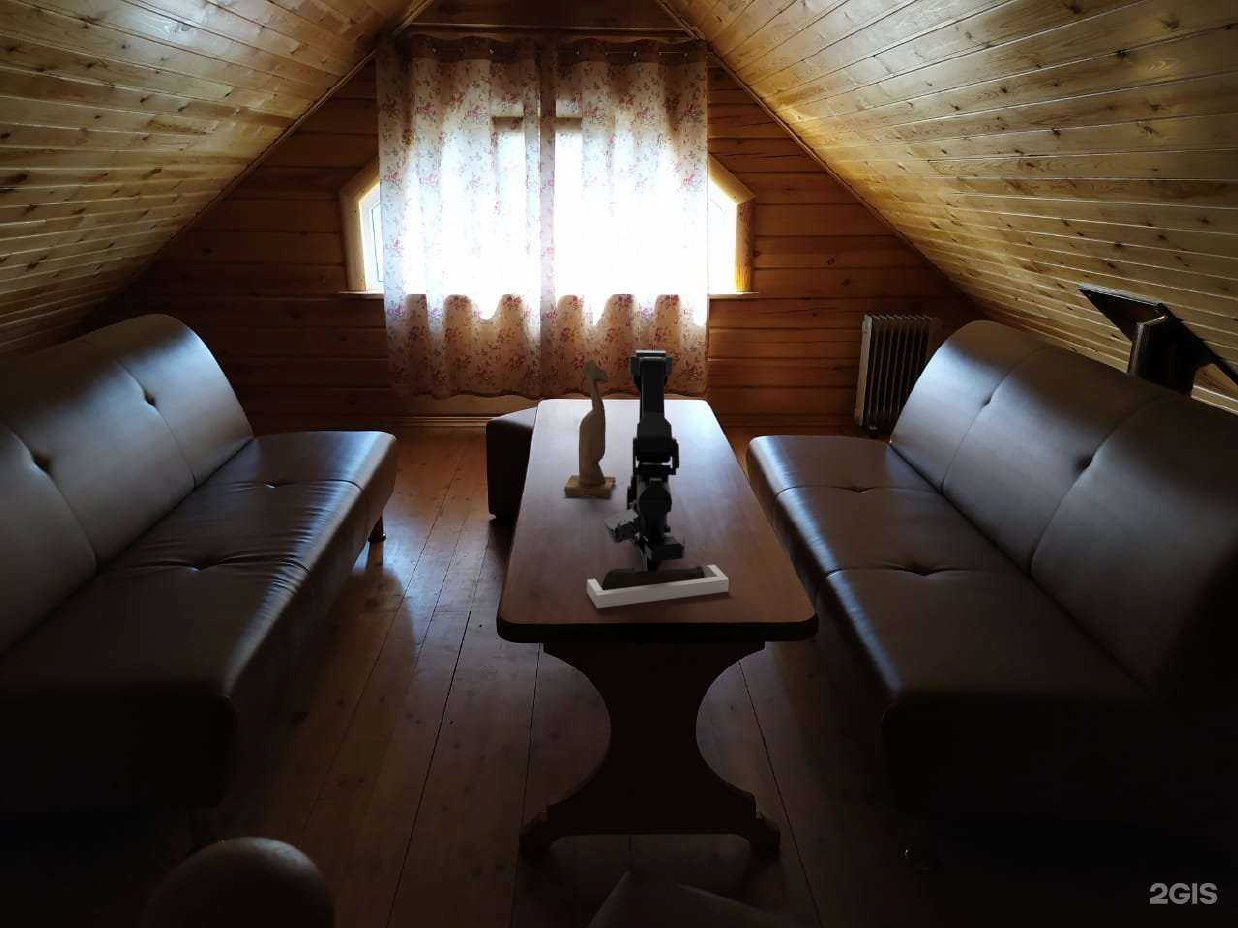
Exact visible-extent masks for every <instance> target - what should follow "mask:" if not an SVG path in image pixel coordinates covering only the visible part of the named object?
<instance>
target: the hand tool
mask: <svg viewBox="0 0 1238 928" xmlns="http://www.w3.org/2000/svg"><path fill="white" fill-rule="evenodd" d="M705 574H706V573H705V570H704V568H703V566H702V565H701V566H699V565H698V566H695V567H690V568H683V567H681V568H669V569H662V570H661V569H660V570H658V569H657V571H645V570H641V571H640V570H636V568H634V567H629V568H615V569H610V570H609V571H608V572H607V573H606V575H605V577H604V579H603V580H602V583H601V588H602V590H603V591H604V590H612V589H621V588H629V587H637V586H645V585H653V584H661V583H669V582H677V581H686V580H694V579H702V578H706V576H705Z"/></svg>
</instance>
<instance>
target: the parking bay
mask: <svg viewBox="0 0 1238 928" xmlns="http://www.w3.org/2000/svg"><path fill="white" fill-rule="evenodd" d="M706 567H707V568H706V577H705V578H702V579H694V580H686V581H677V582H669V583H661V584H653V585H645V586H637V587H629V588H621V589H612V590H604V591H603V590H602V586H601V585H600V584H599V582H598V581H597V580H596V579H597V578H591V579H589V578H588V579H587V580H586V593H587V594H588V596H589V597H590V600H591V601H592V603H593V604H594V606H595V607H596V609H602V608H603V609H604V608H609V607H618V606H624V605H625V606H626V605H633V604H640V603H641V604H642V603H649V602H657V601H663V600H664V601H665V600H671V599H673V600H674V599H680V598H688V597H695V596H702V595H710V594H718V593H726V592H729V585H730V584H729V582H730V581H729V579H730V578H728V577H727V575H726V574H725V573H723V572H722V570H721V569H720V568H719V567H718V566H717V565H716V564H709V565H706Z"/></svg>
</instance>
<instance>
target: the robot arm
mask: <svg viewBox="0 0 1238 928" xmlns="http://www.w3.org/2000/svg"><path fill="white" fill-rule="evenodd" d="M628 371H629V375H631V376H632V381H633V383H634V385H635V387H636V389H637V391H638V392H639V414H638V415H639V418H638V420H639V421H638V422H637V425H636V436H632V449H631V450H632V455H631V456H632V474H631V475H630V485H627V487H626V507H625V508H626V510H624V511H621V512H619V513H617V514H615V515H612V516H609V517H608V518H605V520H604V525H605V527H606V530H607V532H608V536H609V537H610V538H611V539H612V541H613V542H614V543H615V544H619V543H622V542H624V541H627V540H631V541H632V543H633V544H634V545H636V546H637V548H638V549H639V551H640V554H641V558H642V563H643V566H644V571H658V569H659V568H660V566H661V563H662V562H664V561H665V562H666V561H673V560H675V561H676V560H682V559H684V558H685V549H686V548H685V546H684V545H683V544H682V543H681V542H680V541H679V540H678V539H677V538H676V537H674V535H672V536H671V535H670V536H668V533H671V530H672V529H671V528H672V527H671V526H670V524H668V514H669V513H670V512H672V508H673V507H672V505H673V499H672V492H671V488H670V484H669V481H670V476H677V469H680V447H679V446H680V444H679V443H678V440H677V438H676V437H673V429H672V426H673V425H672V424H671V423H670V422H669V420H668V419H667V418H666V417H665V416H666V413H665V387H666V386H667V383H668V381H669V376H672V375H673V355H667V351H666V349H635V354H629V369H628ZM669 462H671V464H669ZM637 463H638V464H637ZM671 466H672V467H671Z"/></svg>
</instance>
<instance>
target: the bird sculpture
mask: <svg viewBox="0 0 1238 928" xmlns="http://www.w3.org/2000/svg"><path fill="white" fill-rule="evenodd" d="M582 373H583V375H584V377H585V380H586V383H587V388H588V390H589V395H590V399H591V408H592V409H591V410H590V411H589V412H588V413H586V415H585V416H584V417H583V418H582V419H581V421H580V424H579V427H578V428H579V431H578V436H579V437H578V475H574V474H571V475H570V476H569V479H568V480H567V483H566V484H565V486H564V487H563V489H564V490H563V492H564V497H566V496H568V498H570V497H571V496H572V497H574V498H578V497H581V498H588V499H589V498H591V499H592V498H594V499H610V498H611V490H612V486H613V484H616V480H617V479H616V476H605V474H604V473H603V470H602V467H601V465H600V461H601V460H603V458H604V456H605V453H606V442H607V441H606V431H607V427H606V425H607V424H606V422H607V421H606V411H605V410H606V409H605V405H604V402H603V398H602V395H601V393H600V392H601V391H600V389H599V386H598V382H603V383H606V384H607V383H608V373H607V372H606V371H605V370H604V369H602V368H601V367H599V366H598V365H597V363H596V361H595V359H588V360H586V362H585V363H584V365H583V368H582Z"/></svg>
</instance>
